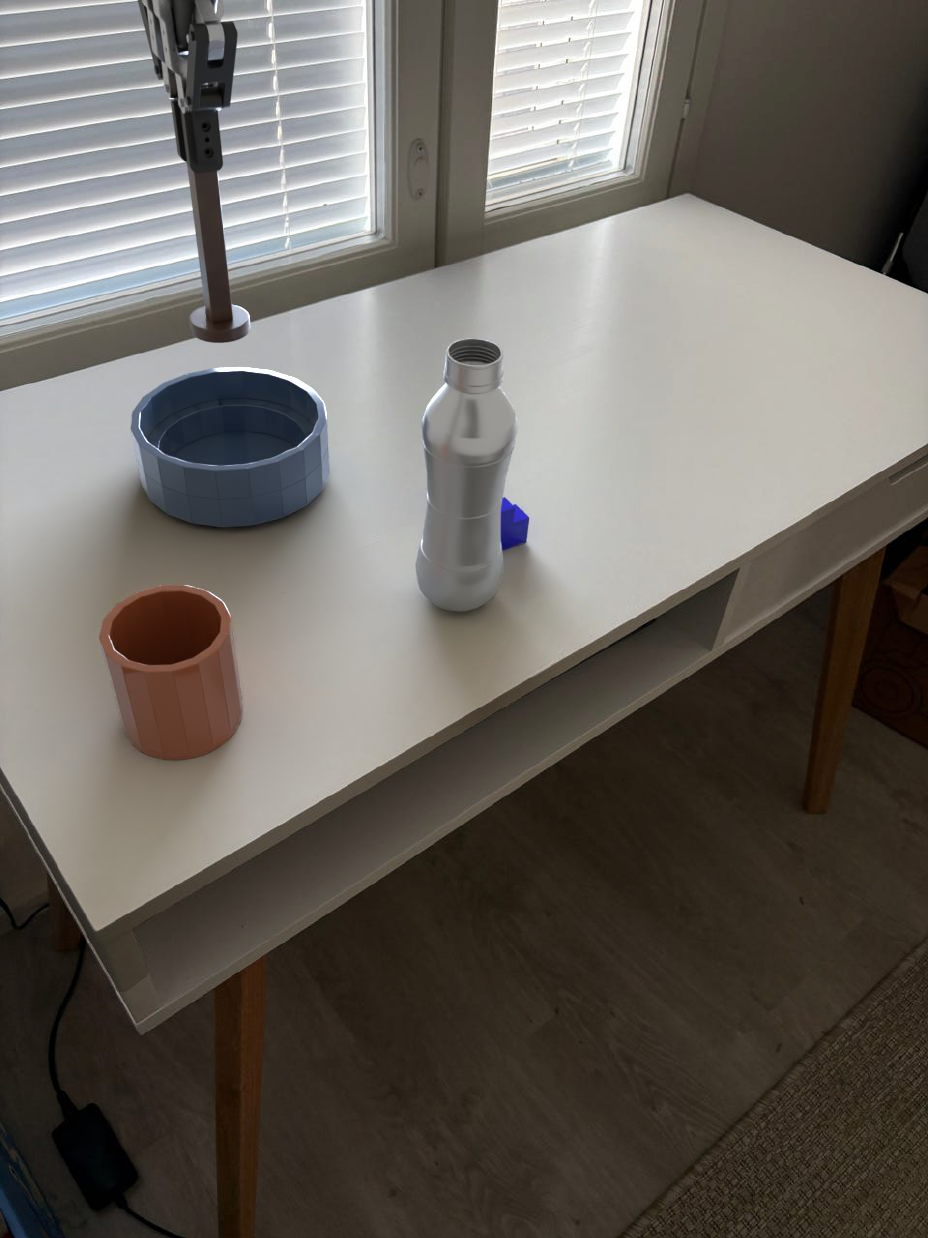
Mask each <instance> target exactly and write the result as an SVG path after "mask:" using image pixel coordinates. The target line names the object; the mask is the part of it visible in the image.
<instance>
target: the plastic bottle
mask: <svg viewBox="0 0 928 1238" xmlns="http://www.w3.org/2000/svg"><path fill="white" fill-rule="evenodd" d="M444 360H445V361H444V362H445V363H444V367H443V372H442V373H443V374H442V377H443V381H444V382H445V384H443V386H442V387H441V388H439V390H438V391H437V392H436V393H435V394H434V396H433V397H432V398H431V400H430V401H429V403H428V404H427V406H426V408H425V411H424V414H423V416H422V421H421V437H422V443H423V453H424V461H425V469H426V510H425V517H424V525H423V531H422V537H421V540H420V544H419V546H418V551H417V556H416V561H415V573H416V578H417V585H418V587H419V590H420V591H421V593H422V594H423V596H424V597H425V598H426V599H427V600H428V601H430V603H431V604H433V605H435V606H436V607H437V608H440V609H442V610H444V611H445V610H446V611H450V612H468V611H472V610H475V609H478V608H480V607H481V606H483V605H484V604H486V603H487V602H489V601H490V600H491V599H492V598H493V597H494V595H495V594H497V592H498V588H499V586H500V583H501V580H502V578H503V575H504V553H503V550H502V546H501V504H502V498H503V497H504V493H505V492H504V491H505V485H506V479H507V475H508V472H509V467H510V464H511V460H512V457H513V452H514V449H515V445H516V443H517V442H516V441H517V436H518V431H519V423H518V419H517V414H516V410H515V408H514V406H513V404H512V403H511V401H510V399H509V398H508V396H507V394H506V393H505V392H504V390H503V389H502V387H500V386H501V385H502V383H503V380H504V369H503V365H504V352H503V349H502V347H500V345H499V344H498V343H496V342H493V341H491V340H489V339H485V338H478V337H466V338H460V339H457V340H455V341H453V342H451V343H450V344H449V345H448V346H447V347H446V350H445V359H444Z"/></svg>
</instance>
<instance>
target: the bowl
mask: <svg viewBox="0 0 928 1238" xmlns="http://www.w3.org/2000/svg"><path fill="white" fill-rule="evenodd" d="M328 433H329V431H328V417H327V409H326V404H325V402H324V400H322V398H321V397H320V395H319V394H318V393H317V392H316V391H315V389H314V388H312V387H311V386H309V385H308V384H306V383H304V382H303V381H301V380H299V379H298V378H296V377H293V376H290V375H287V374H285V373H284V374H283V373H280V372H277V371H274V370H270V369H263V368H254V367H245V366H244V367H243V366H237V367H236V366H235V367H215V368H208V369H203V370H199V371H193V372H188V373H184V374H183V375H179V376H177V377H175V378H172V379H169V380H167V381H165V382H162V383H160V384H159V385H158V386H157V387H155V388H154V389H152V390H151V391H149V392H148V393H146V394H145V395H144V396H142V398H141V399H140V400H139V402H138V403H137V404H136V406H135V408H134V409H133V410H132V412H131V421H130V434H131V439H132V444H133V448H134V449H133V450H134V453H135V458H136V463H137V469H138V473H139V474H138V475H139V479H140V484H141V487H142V488H143V490H144V492H145V494H146V496H147V498H148V500H149V501H150V502H152V503H153V504H154V505H155V506H156V507H158V508H159V509H160V510H161V511H163V512H164V513H166V514H167V515H168V516H171V517H173V518H176V519H179V520H182V521H185V522H188V523H190V524H194V525H199V526H200V525H202V526H208V527H217V528H234V527H248V526H249V527H250V526H258V525H260V524H265V523H268V522H272V521H275V520H279V519H283V518H285V517H287V516H289V515H291V514H293V513H295V512H297V511H298V510H301V509H302V508H304V507H306V506H308V505H309V504H310V503H311V502H312V501H313V500H314V499H315V498H316V497H317V496H318V495H319V494H320V493H322V491H323V490H324V487H325V486H326V482H327V480H328V478H329V475H330V455H329V434H328Z"/></svg>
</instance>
